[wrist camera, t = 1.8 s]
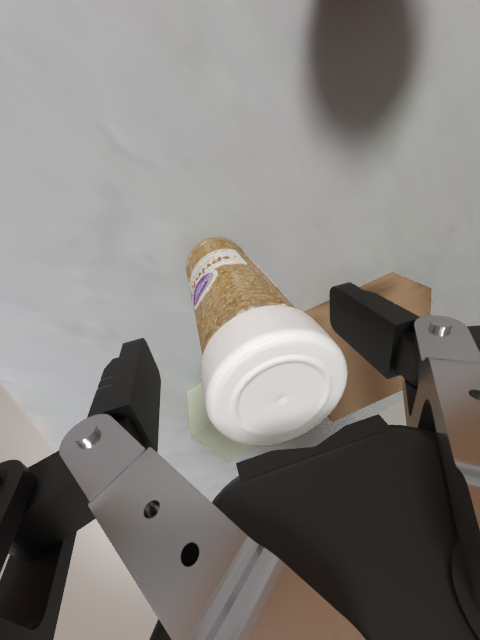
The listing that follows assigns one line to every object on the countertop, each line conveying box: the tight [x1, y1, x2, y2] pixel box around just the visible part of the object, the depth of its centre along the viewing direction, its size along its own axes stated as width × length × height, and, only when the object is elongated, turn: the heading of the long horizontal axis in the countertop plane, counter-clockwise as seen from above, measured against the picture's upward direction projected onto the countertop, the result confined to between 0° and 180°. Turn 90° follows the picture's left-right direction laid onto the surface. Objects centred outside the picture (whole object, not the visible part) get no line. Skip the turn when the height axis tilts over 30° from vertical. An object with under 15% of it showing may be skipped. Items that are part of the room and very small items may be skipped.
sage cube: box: [187, 383, 254, 462], centre depth 23 cm, size 5×5×5 cm
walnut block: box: [304, 272, 431, 422], centre depth 24 cm, size 10×10×4 cm
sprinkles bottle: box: [186, 238, 348, 446], centre depth 13 cm, size 5×5×14 cm
